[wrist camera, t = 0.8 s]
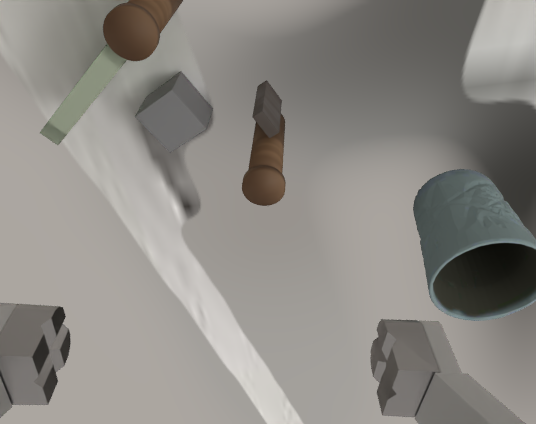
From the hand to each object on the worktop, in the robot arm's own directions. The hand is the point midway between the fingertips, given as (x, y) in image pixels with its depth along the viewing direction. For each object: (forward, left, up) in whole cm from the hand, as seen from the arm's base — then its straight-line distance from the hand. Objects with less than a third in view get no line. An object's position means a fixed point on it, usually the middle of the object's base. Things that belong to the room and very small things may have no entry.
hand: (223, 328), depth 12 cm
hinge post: (+7, -5, -33) cm, 34 cm away
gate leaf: (+14, -4, -32) cm, 35 cm away
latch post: (+7, +8, -33) cm, 35 cm away
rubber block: (+13, +3, -33) cm, 36 cm away
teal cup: (-4, +28, -33) cm, 44 cm away
